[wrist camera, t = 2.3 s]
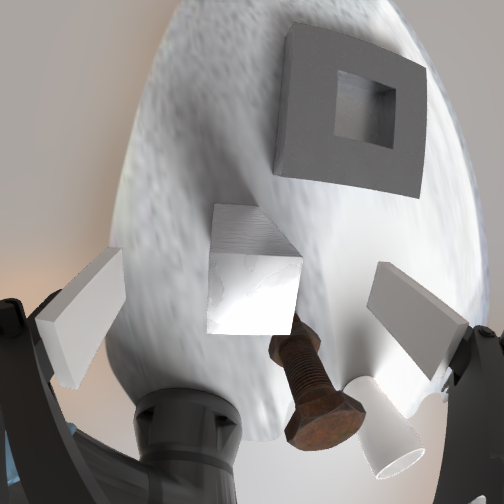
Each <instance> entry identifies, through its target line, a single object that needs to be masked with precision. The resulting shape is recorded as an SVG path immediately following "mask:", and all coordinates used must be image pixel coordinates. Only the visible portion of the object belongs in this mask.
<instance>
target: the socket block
mask: <svg viewBox="0 0 504 504" xmlns="http://www.w3.org/2000/svg"><path fill="white" fill-rule="evenodd" d="M426 124H427V78H426V68H425V67H423V66H421V65H419V64H417V63H415V62H413V61H411V60H409V59H406V58H404V57H402V56H400V55H398V54H395V53H393V52H391V51H388V50H386V49H383V48H381V47H378V46H376V45H373V44H370V43H368V42H365V41H362V40H359V39H356V38H353V37H350V36H347V35H344V34H340V33H337V32H333V31H330V30H326V29H322V28H319V27H315V26H310V25H306V24H302V23H297V22H295V23H294V24H293V26H292V27H291V29H290V31H289V32H288V34H287V36H286V37H285V50H284V62H283V73H282V85H281V96H280V107H279V118H278V128H277V139H276V149H275V159H274V169H273V175H277V176H281V177H289V178H298V179H306V180H314V181H321V182H328V183H335V184H342V185H348V186H354V187H360V188H366V189H372V190H377V191H383V192H388V193H393V194H398V195H403V196H408V197H413V198H417V199H419V197H420V190H421V183H422V175H423V166H424V155H425V143H426Z"/></svg>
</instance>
